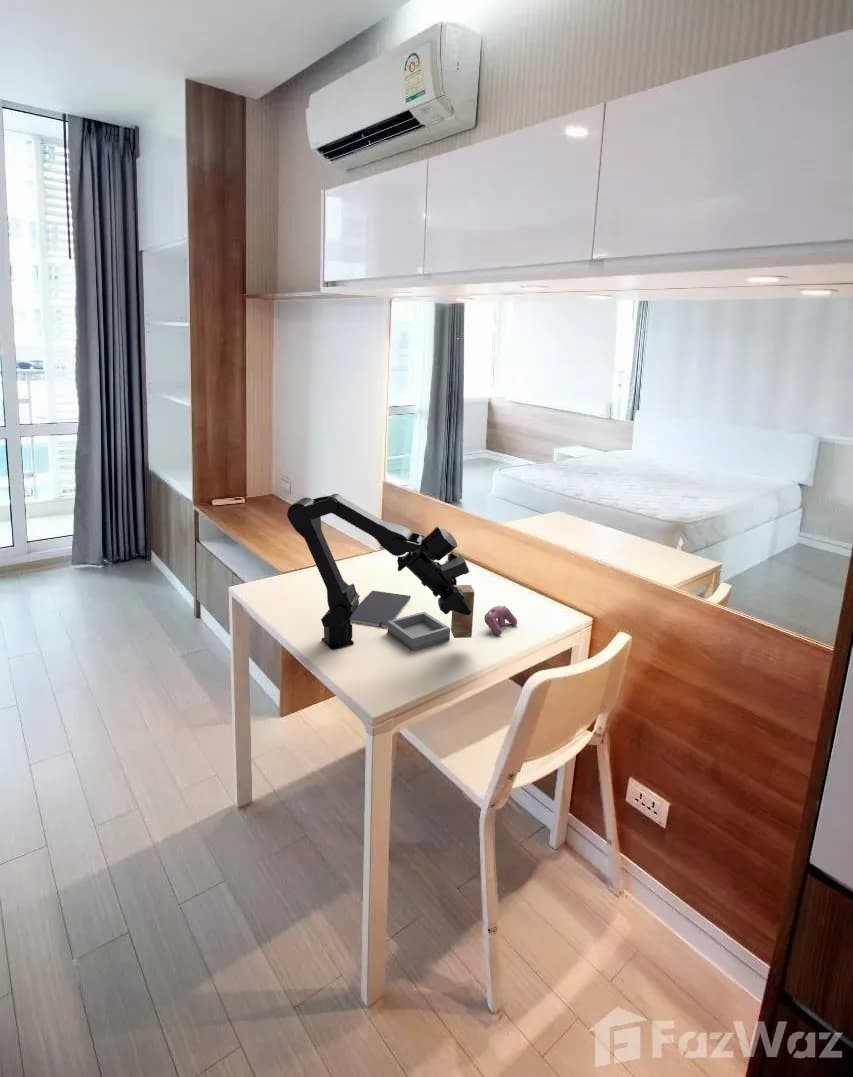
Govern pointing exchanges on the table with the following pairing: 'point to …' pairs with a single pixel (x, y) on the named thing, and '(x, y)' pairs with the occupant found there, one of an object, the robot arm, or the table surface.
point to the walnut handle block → (462, 622)
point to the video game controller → (499, 618)
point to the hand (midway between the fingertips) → (467, 609)
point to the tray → (418, 631)
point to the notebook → (379, 608)
